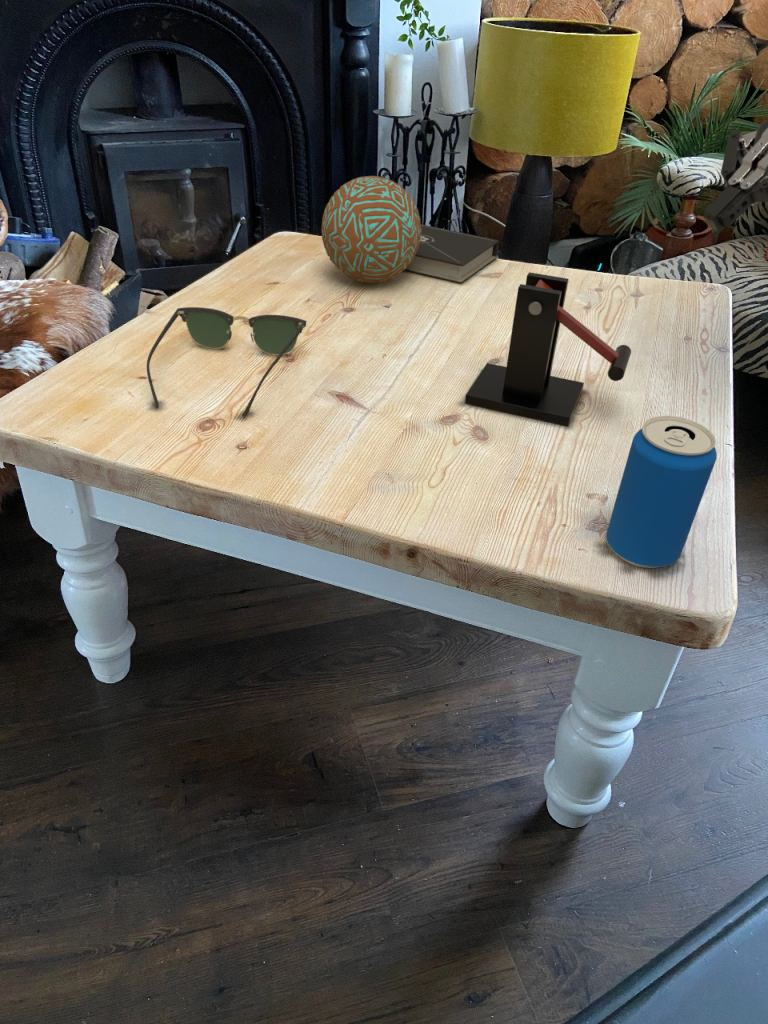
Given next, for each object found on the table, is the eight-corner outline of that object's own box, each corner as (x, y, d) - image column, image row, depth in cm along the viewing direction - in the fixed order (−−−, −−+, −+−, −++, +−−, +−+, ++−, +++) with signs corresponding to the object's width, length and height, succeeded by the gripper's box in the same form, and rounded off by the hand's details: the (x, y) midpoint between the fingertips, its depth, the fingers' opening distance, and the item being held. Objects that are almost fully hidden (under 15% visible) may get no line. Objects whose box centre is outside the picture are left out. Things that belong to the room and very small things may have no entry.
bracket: (582, 391, 89) (607, 278, 81) (568, 426, 82) (593, 307, 74) (485, 371, 92) (500, 260, 84) (464, 403, 86) (478, 287, 77)
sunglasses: (128, 405, 83) (120, 364, 80) (183, 341, 96) (178, 304, 93) (272, 421, 81) (269, 380, 78) (308, 354, 94) (307, 317, 91)
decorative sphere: (377, 306, 108) (380, 197, 99) (302, 280, 115) (298, 176, 106) (437, 279, 117) (445, 178, 108) (364, 256, 124) (366, 160, 115)
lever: (621, 363, 84) (636, 348, 82) (614, 386, 79) (629, 371, 78) (530, 290, 83) (544, 273, 81) (517, 308, 79) (531, 291, 77)
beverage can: (687, 543, 67) (730, 428, 59) (667, 584, 62) (711, 465, 55) (617, 518, 69) (650, 405, 62) (593, 555, 65) (625, 438, 58)
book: (497, 257, 126) (500, 239, 124) (461, 284, 116) (463, 264, 114) (386, 234, 134) (387, 216, 133) (343, 256, 124) (343, 238, 122)
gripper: (914, 127, 70) (770, 269, 74) (804, 102, 80) (681, 229, 83) (901, 62, 65) (747, 217, 69) (784, 44, 75) (655, 182, 78)
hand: (711, 223), depth 76 cm, fingers closed
